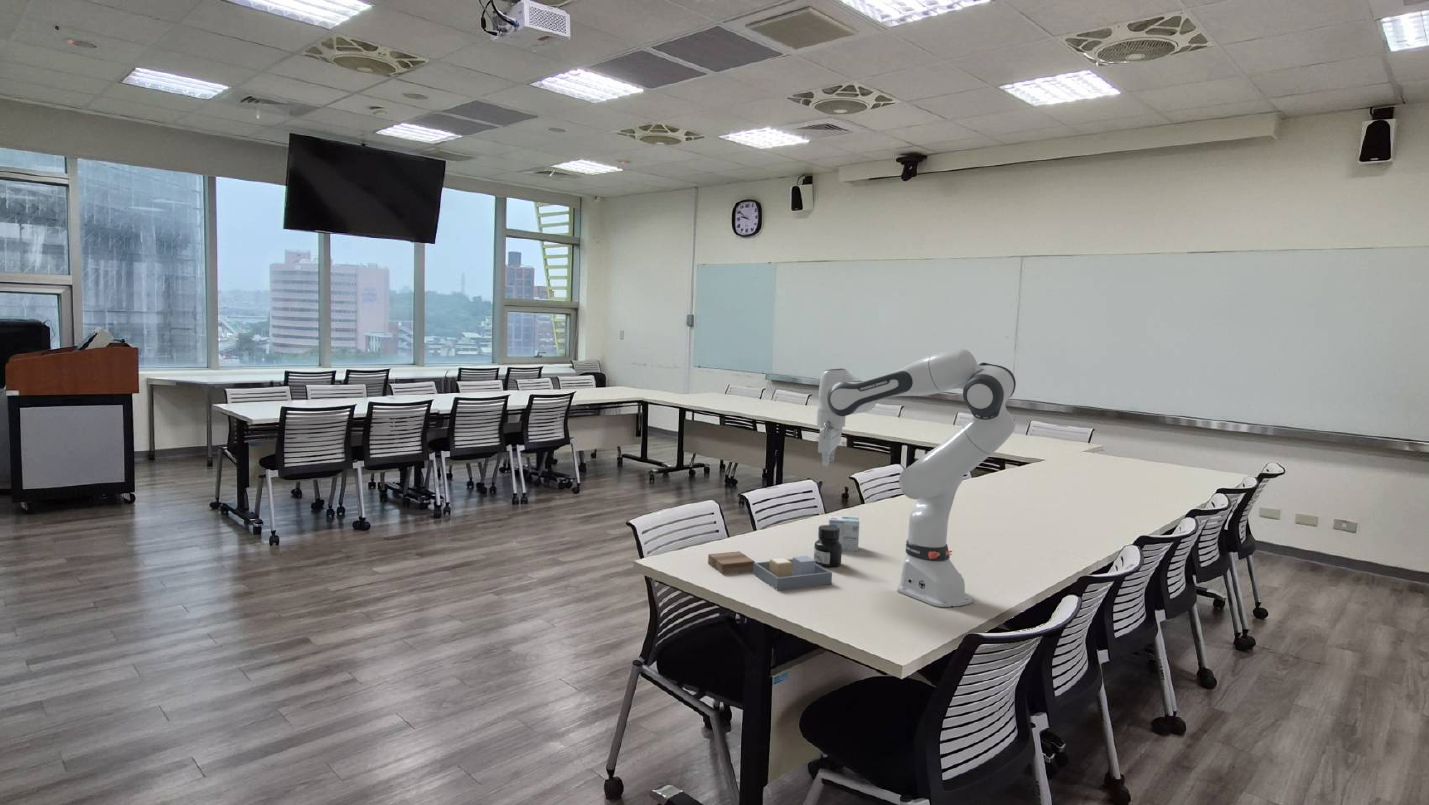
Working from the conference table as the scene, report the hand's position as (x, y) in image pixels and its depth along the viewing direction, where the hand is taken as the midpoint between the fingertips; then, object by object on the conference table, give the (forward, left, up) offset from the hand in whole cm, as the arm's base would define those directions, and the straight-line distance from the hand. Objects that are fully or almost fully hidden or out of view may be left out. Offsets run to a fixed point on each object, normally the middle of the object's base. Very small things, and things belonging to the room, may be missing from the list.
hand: (828, 463), depth 246 cm
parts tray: (-6, +14, -34) cm, 38 cm away
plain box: (-6, +10, -34) cm, 36 cm away
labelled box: (-6, +18, -34) cm, 39 cm away
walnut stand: (+10, +27, -34) cm, 45 cm away
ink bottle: (+4, -5, -34) cm, 35 cm away
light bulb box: (+18, -20, -34) cm, 44 cm away
